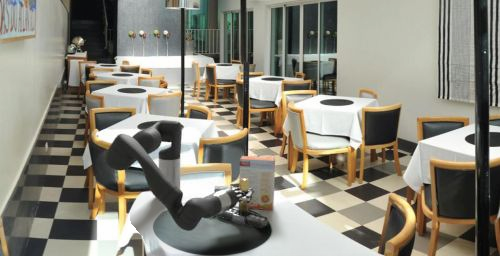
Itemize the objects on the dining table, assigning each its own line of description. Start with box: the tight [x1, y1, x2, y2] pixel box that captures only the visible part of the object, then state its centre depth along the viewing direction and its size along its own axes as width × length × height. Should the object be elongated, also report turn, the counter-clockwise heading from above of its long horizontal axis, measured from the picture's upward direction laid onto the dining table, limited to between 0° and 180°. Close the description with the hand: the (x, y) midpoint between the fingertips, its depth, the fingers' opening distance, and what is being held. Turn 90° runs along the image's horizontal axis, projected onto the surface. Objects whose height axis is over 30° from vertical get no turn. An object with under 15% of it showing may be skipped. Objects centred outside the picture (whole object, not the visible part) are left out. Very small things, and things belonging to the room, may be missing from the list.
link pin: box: [238, 178, 249, 212], centre depth 169 cm, size 4×4×12 cm
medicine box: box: [213, 185, 235, 193], centre depth 184 cm, size 8×4×9 cm, turn 92°
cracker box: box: [238, 155, 276, 211], centre depth 185 cm, size 14×6×21 cm, turn 82°
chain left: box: [218, 207, 241, 222], centre depth 175 cm, size 7×5×3 cm
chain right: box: [245, 213, 269, 230], centre depth 168 cm, size 7×5×3 cm
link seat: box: [232, 210, 254, 226], centre depth 171 cm, size 5×7×3 cm
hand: (248, 189), depth 172 cm, fingers closed on link pin, 3 cm apart
